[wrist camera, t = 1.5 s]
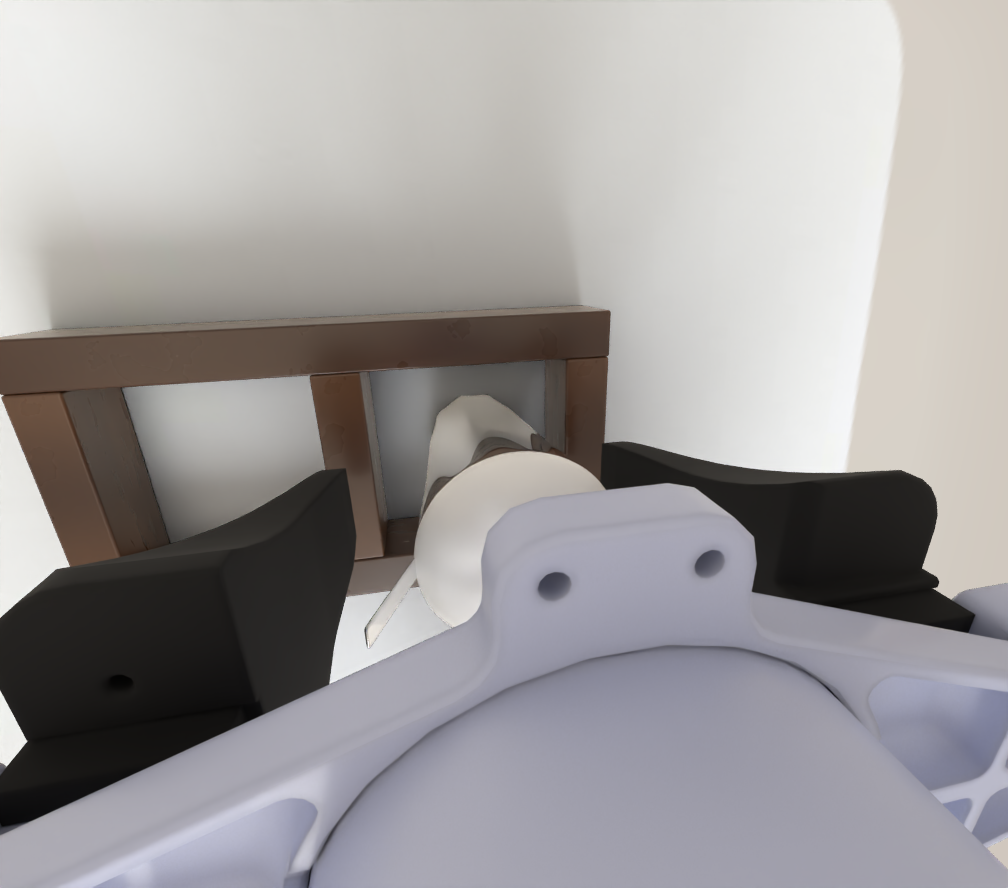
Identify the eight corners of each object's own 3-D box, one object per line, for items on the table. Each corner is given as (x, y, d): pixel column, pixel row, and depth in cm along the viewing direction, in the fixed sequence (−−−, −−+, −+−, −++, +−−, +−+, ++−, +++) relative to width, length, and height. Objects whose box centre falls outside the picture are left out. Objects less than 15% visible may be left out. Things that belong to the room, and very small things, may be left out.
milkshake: (383, 379, 16) (347, 517, 7) (534, 371, 17) (677, 485, 8) (396, 498, 18) (379, 738, 9) (533, 485, 19) (652, 690, 10)
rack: (577, 527, 20) (599, 562, 17) (139, 582, 17) (95, 632, 15) (582, 305, 17) (611, 310, 14) (50, 329, 14) (-25, 340, 12)
